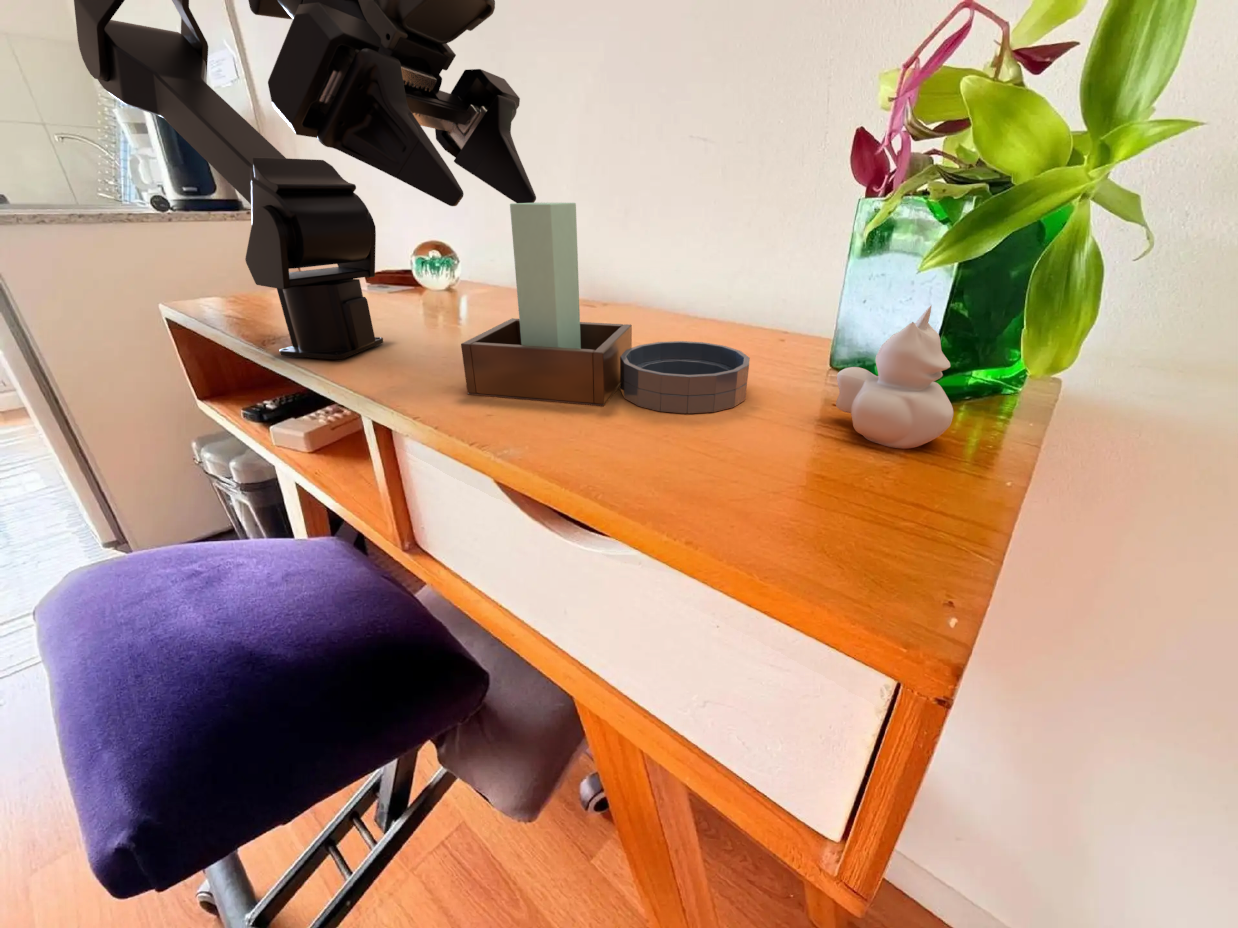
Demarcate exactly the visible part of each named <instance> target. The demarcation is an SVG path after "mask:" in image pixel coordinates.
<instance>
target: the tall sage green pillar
mask: <svg viewBox="0 0 1238 928" xmlns="http://www.w3.org/2000/svg"><path fill="white" fill-rule="evenodd" d="M509 211H510V212H509V213H510V225H511V234H512V235H511V236H512V246H513V248H512V249H513V258H514V259H513V260H514V273H515V283H516V294H517V308H518V319H519V321H520V332H521V344H522V345H529V346H545V347H561V348H576V349H581V339H580V322H581V314H580V312H581V311H580V310H581V309H580V289H579V288H580V285H579V283H580V282H579V253H578V227H577V203H576V202H534V203H516V202H514V203H513V202H512V203H510V204H509Z"/></svg>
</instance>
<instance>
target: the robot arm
mask: <svg viewBox="0 0 1238 928" xmlns="http://www.w3.org/2000/svg"><path fill="white" fill-rule="evenodd" d="M125 1H126V0H73V6H74V16H75V25H76V26H75V27H76V35H77V45H78V49H79V53H80V56H81V59H82V61H83V63H84V65H85V68H86V70H87V71H88V73H89V74H90V75H91V77H92V78H93V79H95V80H97V81H98V83H99V84H100V85H101V87H102V88H103V89H104V90H105V91H106V92H107V93H109V95H111V96H112V97H114V98H115V99H117V100H118V101H120V103H123V104H124V105H126V106H129V107H132V108H134V109H137V110H139V111H143V112H146V113H148V114H152V115H155V116H158V117H161V118H162V119H164V121H165V122H166V123H168V124H169V126H171V128H172V129H174V130H175V131H176V132H177V134H179V136H181V138H183V139H184V141H186V142H187V143H188V144H189V145H190V146H191V148H193V149H194V150H195V151H196V152H197V153H198V154H199V155H200V156H201V157H202V158H203V159H204V160H205V161H206V162H207V163H208V164H209V165H210V166H211V167H212V168H213V169H214V170H215V171H216V172H217V173H218V174H219V175H220V176H221V177H222V178H223V179H225V181H226V182H227V183H228V184H230V186H232V188H234V189H235V190H236V191H237V193H239V194H240V196H242V197H243V199H244V200H246V202H248V204H249V205H250V206H251V227H250V232H249V237H248V242H247V248H246V253H245V258H244V259H245V260H244V261H245V264H246V265H247V268H248V270H249V272H250V274H251V277H252V279H253V281H254V284H255V285H256V286H259V287H260V286H261V287H265V288H273V289H276V291H277V295H278V298H279V302H280V305H281V309H282V313H283V317H284V320H285V324H286V327H287V331H288V335H289V338H290V342H291V345H290V346H287V347H284V348H280V349H279V355H280V356H282V357H283V356H285V357H295V358H311V359H321V360H344V359H346V358H348V357H351V356H353V355H356V354H359V353H361V352H363V351H366V350H368V349H372V348H374V347H376V346H379V345H381V344H383V343H384V337H382V336H375V332H374V327H373V322H372V316H371V310H370V308H369V301H368V299H367V297H366V296H364V295H363V290H362V285H361V280H360V279H362V278H368V279H369V278H375V276H376V247H377V245H376V244H377V243H376V240H377V238H376V237H377V232H376V224H375V221H374V218H373V216H372V214H371V212H370V210H369V208H368V206H367V205H366V204H365V202H364V200H362V198H361V197H360V196H359V195H358V194H357V193H355V191H356V189H357V186H356V184H354V183H351V182H348V181H347V180H346V179H344V177H342V176H341V175H340V173H339V172H338V171H337V170H336V168H335V167H334V166H333V165H332V164H330V163H329V162H327V161H326V160H324V159H311V158H310V159H308V158H287V157H286V156H285V155H283V154H282V153H281V152H280V151H279V150H278V149H277V148H276V147H275V146H274V145H273V144H272V143H271V142H269V141H268V139H267V138H265V136H263V135H262V134H261V133H260V132H259V131H258V130H257V129H255V127H253V125H251V124H250V123H249V122H248V121H247V120H246V119H245V118H244V117H243V116H242V115H241V114H239V112H237V111H236V110H235V109H234V108H233V107H232V106H231V105H230V104H229V103H228V102H227V101H226V100H225V99H224V98H223V97H221V96H220V94H218V93H217V91H215V90H214V89H213V88H212V87H211V86H210V85H209V84H208V81H207V78H208V77H207V76H208V61H209V59H208V58H209V44H208V41H207V39H206V37H205V35H204V33H203V32H202V30H201V28H200V26H199V24H198V22H197V20H196V18H195V16H194V14H193V13H192V10H191V9H190V0H171V2H172V3H173V5H174V8H175V9H176V11H177V12H178V14H179V17H180V32H178V31H175V30H169V29H163V28H157V27H152V26H147V25H142V24H141V25H140V24H136V23H130V22H125V21H119V20H115V19H112V18H113V17H114V16H115V14H117V12H118V10H119V9H120V8H121V6H122V5H123V3H124V2H125ZM247 2H248V5H249V9H250V11H251V13H253V14H254V15H255V16H262V17H269V18H277V19H285V20H291V23H290V25H289V28H288V31H287V33H286V36H285V37H284V40H283V43H282V45H281V48H280V50H279V53H278V55H277V57H276V60H275V62H274V65H273V68H272V70H271V73H270V74H269V78H268V80H267V85H268V90H269V91H268V92H269V95H270V100H271V101H270V102H271V104H272V107H273V109H274V110H275V111H276V112H277V113H278V115H279V116H280V117H281V118H282V119H283V121H284V122H285V123H286V124H287V125H288V127H289V128H290V129H291V130H292V131H293V132H294V133H295V135H297V136H300V137H301V136H303V137H309V138H315V139H317V140H318V142H320V144H321V145H323V146H324V147H325V148H329V149H330V148H331V149H334V150H337V151H339V152H341V153H343V154H346V155H348V156H350V157H352V158H354V159H356V160H358V161H360V162H362V163H364V164H366V165H368V166H370V167H373V168H375V169H377V170H379V171H381V172H383V173H384V174H387V175H389V176H391V177H393V178H395V179H397V180H398V181H401V182H403V183H404V184H407V185H408V186H410V187H413V188H414V189H416V190H419V191H420V192H422V193H424V194H426V195H428V196H430V197H432V198H434V199H435V200H438V201H440V202H442V203H443V204H446V205H448V206H450V207H457V206H458V205H459V203H460V202H461V200H462V199H463V197H464V190H463V188H462V187H461V185H460V183H459V182H458V181H457V179H456V177H455V174H453V172H452V171H451V169H450V167H449V166H448V164H447V162H446V161H445V160H444V158H443V156H442V155H441V153H440V152H439V151H438V150H437V148H436V146H435V145H434V144H433V142H432V140H431V139H430V138H429V136H428V134H427V133H426V131H425V130H424V129H423V127H425V128H430V129H434V132H435V140H436V141H437V143H438V144H439V145H440V146H441V147H442V148H443V150H444V151H445V152H447V153H448V154H450V155H451V156H452V157H454V160H453V162H454V164H456V165H458V166H459V167H460V168H462V169H463V170H465V171H466V172H468V173H469V174H470V175H473V176H474V177H476V178H477V179H479V180H480V181H481V182H483V183H485V184H486V185H488V186H490V187H491V188H493V189H494V190H496V191H497V192H499V193H500V194H502V195H503V196H505V197H506V198H508V199H509V200H511V201H512V202H514V203H536V200H537V196H536V193H535V191H534V188H533V186H532V184H531V181H530V179H529V176H528V174H527V172H526V169H525V168H524V165H523V163H522V160H521V157H520V155H519V152H518V151H517V148H516V145H515V143H514V139H513V136H512V131H511V130H512V122H513V120H514V119H515V118H516V116H517V112H518V111H517V110H518V108H519V107H520V102H521V101H520V100H521V98H520V97H519V95H518V94H517V93H516V91H515V90H514V89H513V88H512V86H511V85H510V84H509V83H508V82H507V80H506V79H505V78H503V77H500V76H498V75H496V74H493V73H491V72H488V71H486V70H484V69H481V68H475V69H473V68H472V69H471V68H470V69H464V70H463V72H462V74H461V75H460V77H459V79H458V81H456V83H455V85H454V87H453V88H452V90H451V92H450V93H449V92H446V91H443V90H441V87H442V83H443V77H442V76H441V73H442V71H448V70H449V68H450V66H451V64H452V63H453V62H454V60H455V57H456V56H457V54H456V53H455V52H454V51H453V50H452V48H451V47H450V45H449V43H451V42H453V41H455V40H456V39H457V38H459V37H460V36H461V35H463V34H464V33H465V32H466V31H469V32H471V31H473V30H474V29H476V28H478V26H479V25H481V24H482V23H483V22H485V21H486V20H488V19H489V18H490V17H491V16H492V15H493V14H494V12H495V9H496V1H495V0H248V1H247ZM330 265H331V266H332V265H337V266H335V267H334V266H333V267H325V268H324V267H323V268H316V269H306V270H299V271H298V270H297V271H290V269H291V270H292V269H303V268H312V267H320V266H330Z"/></svg>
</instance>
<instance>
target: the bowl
mask: <svg viewBox="0 0 1238 928" xmlns="http://www.w3.org/2000/svg"><path fill="white" fill-rule="evenodd" d="M750 358H751V357H750V356H749V355H747V354H746V353H745V352H743V351H741V350H739V349H736V348H732V347H730V346H727V345H723V344H717V343H710V342H705V341H690V340H689V341H687V340H674V341H673V340H671V341H657V342H650V343H643V344H639V345H636V346H633V347H632V348H630V349H628V350H626V351H625V352H624V353H623V354H622V355H621V356H620V386H619V389H620V392H621V394H622V396H623V398H624V399H625V400H626V401H629V402H630V403H632V404H634V405H635V406H636V407H637V406H638V407H641V408H644V409H648V410H652V411H655V412H661V413H662V412H663V413H673V414H684V415H685V414H687V415H688V414H689V415H690V414H705V413H716V412H720V411H725V410H728V409H732V408H735V407H737V406H738V405H739V404H741V403H743V402H744V401H745V400H746V398H747V391H748V389H747V388H748V379H749V371H750V361H751V359H750Z"/></svg>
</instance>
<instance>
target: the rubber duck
mask: <svg viewBox="0 0 1238 928" xmlns="http://www.w3.org/2000/svg"><path fill="white" fill-rule="evenodd" d="M931 313H932V305H930V306H929V307H928V308H927V309H926V310H925V311H924V312H923V313H922V315H921V316H920V317H919V318H918V319H917V320H916V322H914V321H912V322H911V323H909V324H907V325H906V326H905V327H903V328H902V329H901V330H900V331H898V332H895V333H894V334H892V335H891V336H890V337H889V338H887V339H886V340H885V341H884V342H883V343H882V344H881V345H880V347H879V349H878V352H877V353H876V356H875V364H876V369H877V370H876V371H877V375H876V374H874V373H872V372H871V371H869V370H868V369H866V368H862V367H859V366H849V367H845V368H843V369H841V370H839V372H838V373H837V374H836V382H837V386H838V396H837V398H836V401H835V407H836V408H837V409H838V411H841V412H844V413H847V414H850V416H851V420H852V426H853V429H854V430H855V432H856V433H858V434H859V435H862V436H863V437H864V438H865V439H866V440H867V441H869V442H872V443H875V444H879V445H881V446H885V447H888V448H892V449H893V448H894V449H901V450H902V449H903V450H906V449H914V448H917V447H921V446H923V445H925V444H928V443H930V442H931V441H934V440H935V439H937V438H938V437H940V436H942V435H943V434H944V433H945V432H946V431H947V430H948V429H949V428H950V427H951V424H952V421H953V418H954V408H953V405H952V403H951V401H950V399H949V397H948V395H947V394H946V392H945V390H944V389H943V387H942V386H941V385H940V384H939V383H938V382H936V381H937V380H939V379H941V378H942V377H943V376H944V374H943V371H946V370H948V369H950V368H951V362H950V361H949V360H948V358H947V357H946V355H945V354H944V352H943V351H942V344H941V343H942V341H941V337H940V334H939V332H938V331H936V330H935V329H934V327H932V325H931V324H930V323H929V322H930V318H931Z"/></svg>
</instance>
